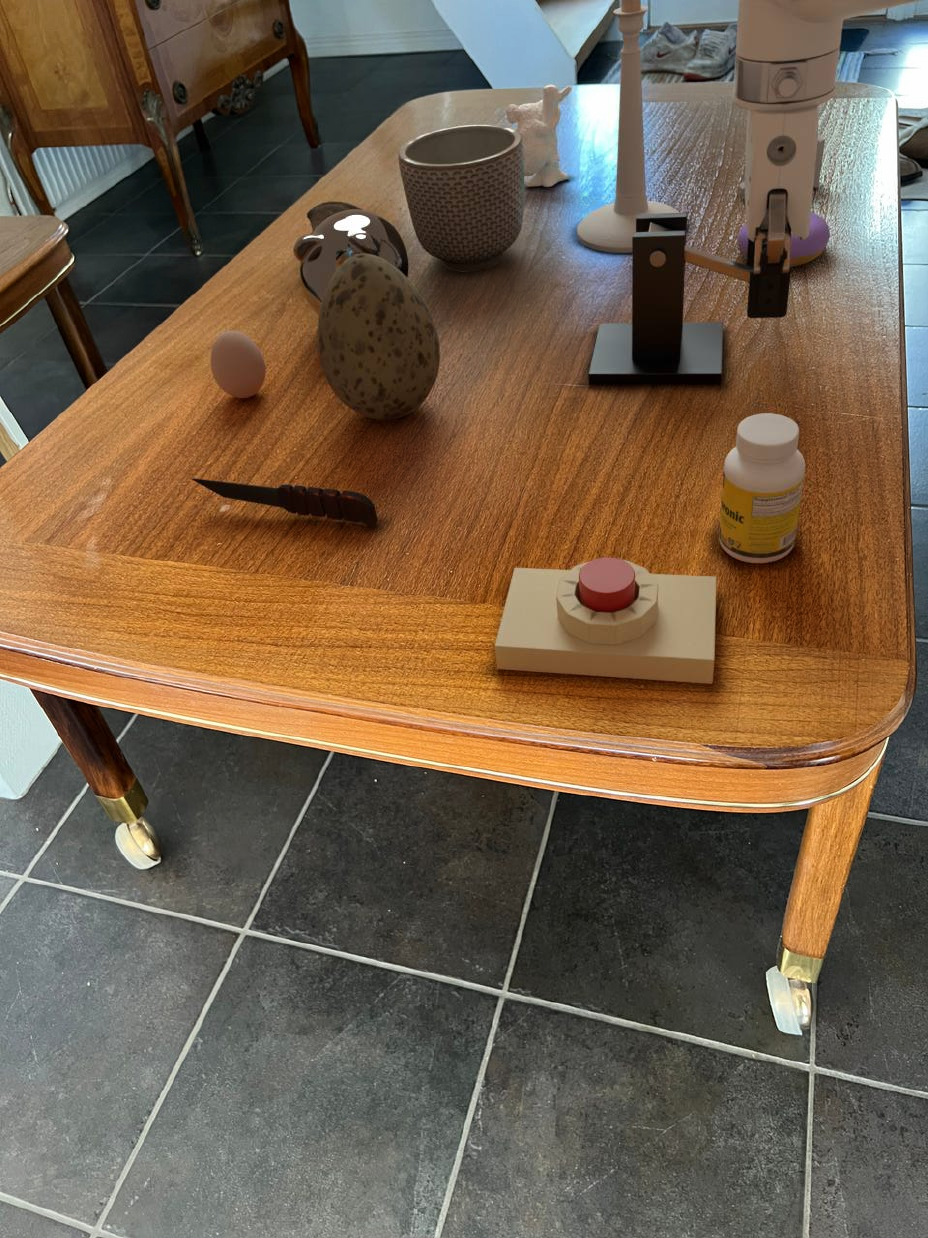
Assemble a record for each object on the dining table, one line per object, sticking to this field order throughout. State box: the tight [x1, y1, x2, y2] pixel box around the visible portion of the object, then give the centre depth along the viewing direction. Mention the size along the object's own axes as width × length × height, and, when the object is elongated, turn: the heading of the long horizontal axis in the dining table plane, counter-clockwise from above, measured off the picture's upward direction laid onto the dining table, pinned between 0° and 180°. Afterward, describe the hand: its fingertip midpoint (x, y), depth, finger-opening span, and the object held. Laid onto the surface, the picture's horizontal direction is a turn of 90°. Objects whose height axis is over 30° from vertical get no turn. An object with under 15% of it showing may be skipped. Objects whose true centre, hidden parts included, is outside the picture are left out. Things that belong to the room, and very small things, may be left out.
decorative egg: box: [316, 254, 441, 421], centre depth 85 cm, size 11×11×15 cm
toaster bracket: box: [588, 212, 724, 386], centre depth 87 cm, size 12×10×13 cm
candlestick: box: [576, 0, 680, 254], centre depth 104 cm, size 13×13×30 cm
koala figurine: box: [506, 83, 573, 188], centre depth 125 cm, size 8×7×12 cm
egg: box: [210, 330, 267, 399], centre depth 93 cm, size 5×5×7 cm
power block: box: [494, 559, 718, 685], centre depth 64 cm, size 14×8×4 cm, turn 78°
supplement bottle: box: [718, 412, 806, 564], centre depth 67 cm, size 5×5×10 cm
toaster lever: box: [647, 223, 754, 284], centre depth 84 cm, size 12×5×2 cm, turn 78°
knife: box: [191, 478, 379, 529], centre depth 79 cm, size 17×1×3 cm, turn 71°
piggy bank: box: [292, 208, 409, 316], centre depth 100 cm, size 11×15×12 cm
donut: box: [736, 211, 831, 268], centre depth 104 cm, size 10×9×5 cm
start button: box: [579, 556, 635, 613], centre depth 62 cm, size 4×4×2 cm
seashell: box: [306, 201, 363, 231], centre depth 116 cm, size 16×9×7 cm, turn 176°
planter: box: [398, 123, 525, 273], centre depth 109 cm, size 14×14×13 cm
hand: (765, 291), depth 85 cm, fingers open, 9 cm apart
